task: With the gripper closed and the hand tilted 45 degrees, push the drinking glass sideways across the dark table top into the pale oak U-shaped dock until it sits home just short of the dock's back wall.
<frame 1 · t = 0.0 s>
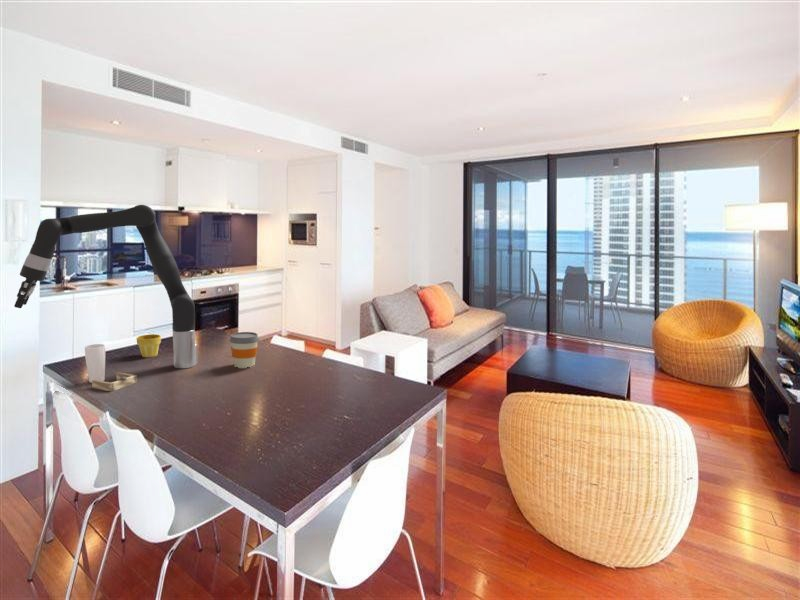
hand: (20, 305, 168), 31 cm above the table, tool tilted 20°, fingers open, 8 cm apart
drinking glass: (97, 381, 178), on the table
plant pot: (149, 356, 215), on the table
reusable coffee cup: (244, 365, 206), on the table
oak dock: (115, 385, 175), on the table
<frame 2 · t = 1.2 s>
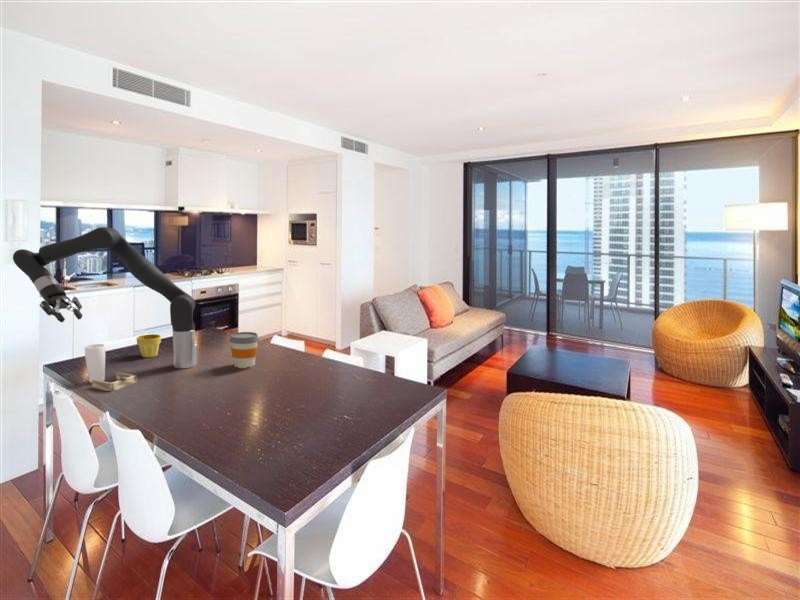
hand: (71, 319, 179), 24 cm above the table, tool tilted 45°, fingers open, 6 cm apart
nothing on the table moved.
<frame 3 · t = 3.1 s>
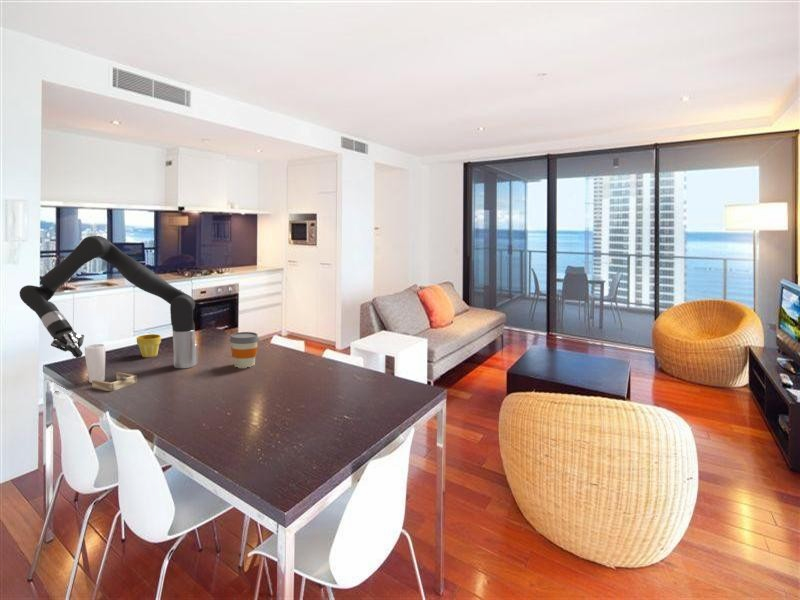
hand: (79, 356, 179), 9 cm above the table, tool tilted 45°, fingers closed
nothing on the table moved.
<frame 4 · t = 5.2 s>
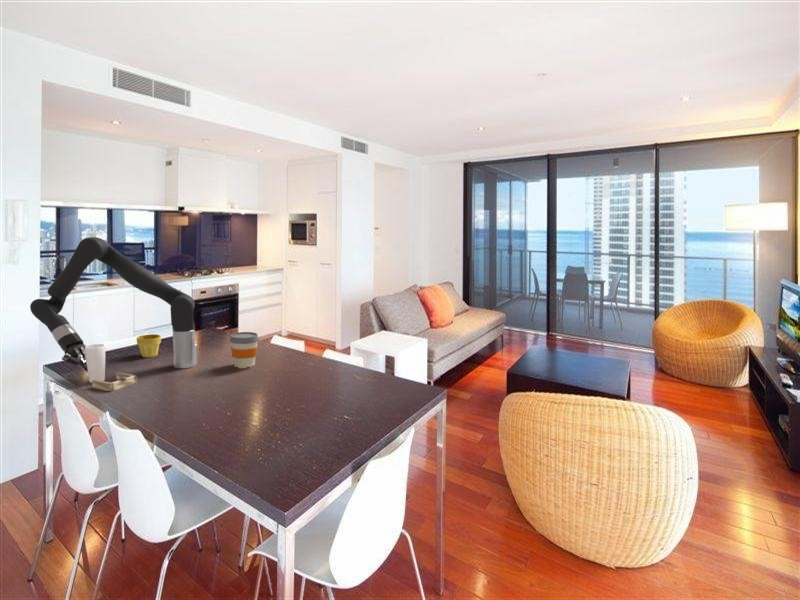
hand: (90, 370, 178), 4 cm above the table, tool tilted 45°, fingers closed
drinking glass: (97, 381, 178), on the table, touching gripper
everything else where it was.
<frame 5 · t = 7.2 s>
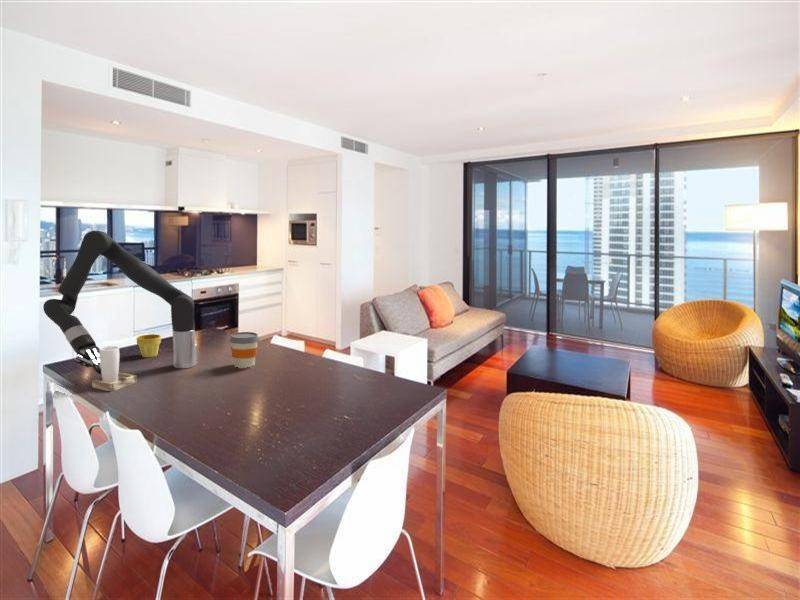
hand: (102, 372, 175), 5 cm above the table, tool tilted 45°, fingers closed
drinking glass: (110, 384, 175), on the table, touching gripper
everything else where it was.
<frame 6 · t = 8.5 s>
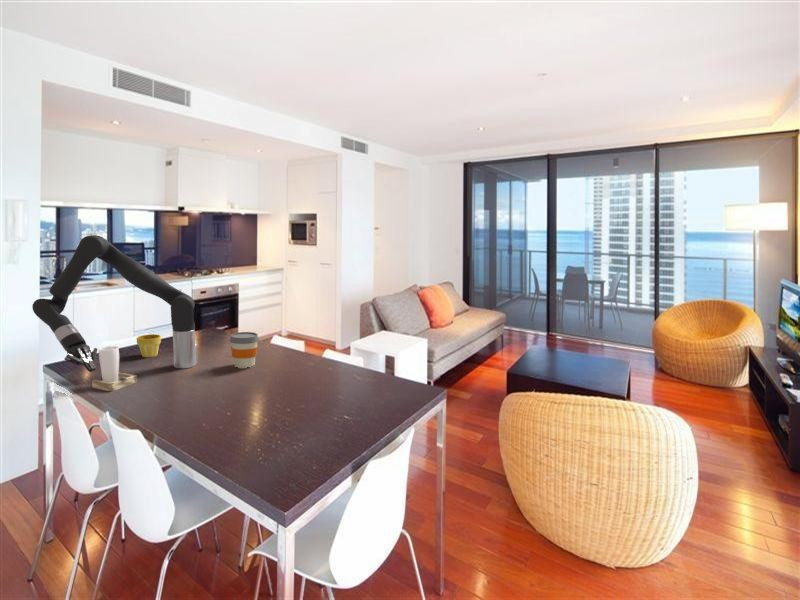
hand: (93, 370, 177), 5 cm above the table, tool tilted 45°, fingers closed
drinking glass: (110, 384, 175), on the table
everything else where it was.
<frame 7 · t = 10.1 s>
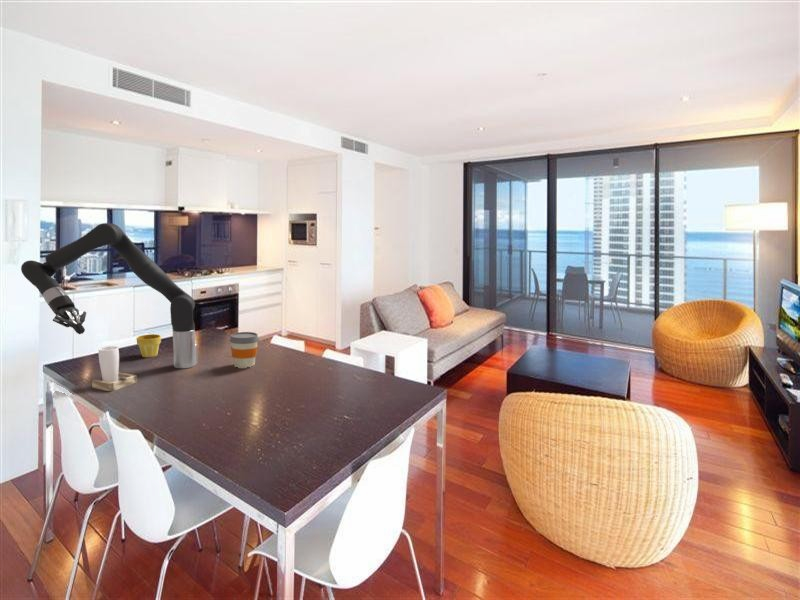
hand: (82, 332, 177), 20 cm above the table, tool tilted 45°, fingers closed
nothing on the table moved.
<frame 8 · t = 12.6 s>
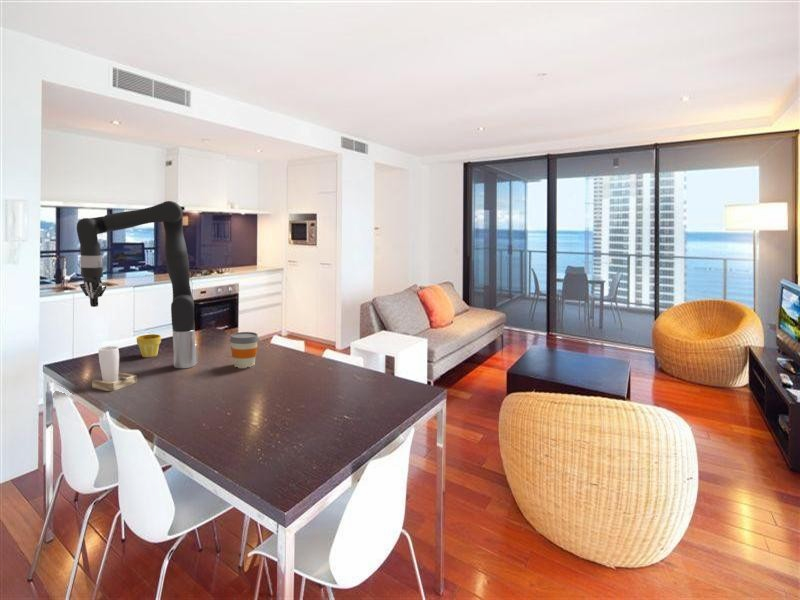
hand: (94, 306, 185), 29 cm above the table, tool pointing down, fingers closed
nothing on the table moved.
at the end: drinking glass inside the target area on the oak dock (3.0 cm from its centre), point 0.0 cm above the oak dock's base; drinking glass tilted 0°; the gripper is holding nothing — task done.
